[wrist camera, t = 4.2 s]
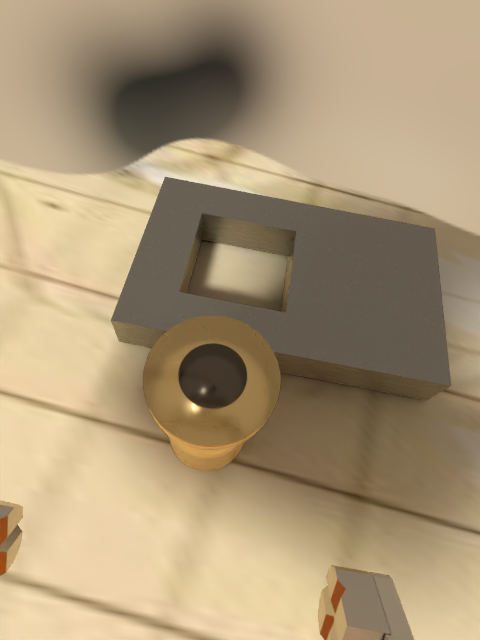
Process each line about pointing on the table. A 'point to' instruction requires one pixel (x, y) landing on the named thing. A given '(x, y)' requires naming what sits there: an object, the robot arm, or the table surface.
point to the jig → (300, 287)
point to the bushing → (211, 388)
